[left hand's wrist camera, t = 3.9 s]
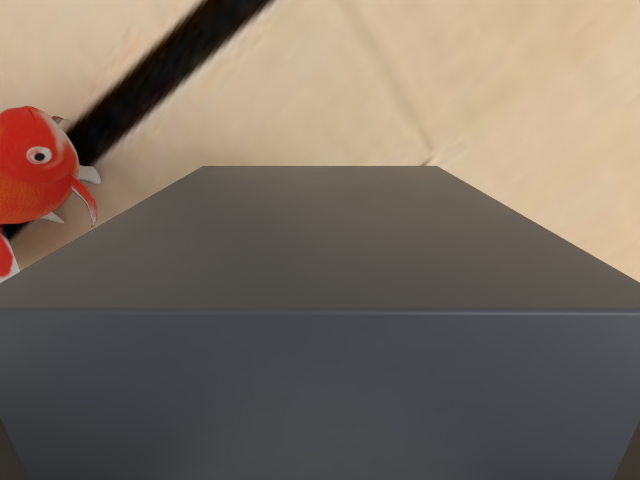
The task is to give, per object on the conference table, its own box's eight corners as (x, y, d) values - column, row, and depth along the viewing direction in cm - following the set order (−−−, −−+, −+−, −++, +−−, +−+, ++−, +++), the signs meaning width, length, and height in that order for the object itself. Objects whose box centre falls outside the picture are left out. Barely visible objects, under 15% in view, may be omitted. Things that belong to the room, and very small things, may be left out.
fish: (185, 248, 21) (-51, 317, 13) (83, 301, 30) (-94, 362, 21) (114, 77, 21) (-172, 34, 12) (33, 182, 29) (-164, 198, 21)
